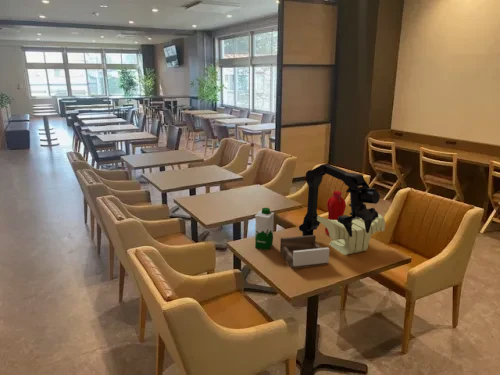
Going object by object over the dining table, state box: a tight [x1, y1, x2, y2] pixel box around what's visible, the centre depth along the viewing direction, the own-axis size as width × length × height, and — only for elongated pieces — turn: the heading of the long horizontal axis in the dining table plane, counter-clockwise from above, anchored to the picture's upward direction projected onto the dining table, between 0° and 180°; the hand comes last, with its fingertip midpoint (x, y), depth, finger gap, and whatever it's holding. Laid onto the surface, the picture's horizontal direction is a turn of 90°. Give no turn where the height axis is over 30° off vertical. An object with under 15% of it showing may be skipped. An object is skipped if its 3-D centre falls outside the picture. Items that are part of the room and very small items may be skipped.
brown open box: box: [279, 234, 329, 269], centre depth 183 cm, size 17×18×8 cm
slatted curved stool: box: [317, 213, 386, 256], centre depth 193 cm, size 30×16×18 cm, turn 113°
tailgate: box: [293, 247, 330, 266], centre depth 174 cm, size 2×17×7 cm, turn 103°
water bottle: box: [324, 190, 347, 237], centre depth 209 cm, size 9×11×25 cm
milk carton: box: [254, 207, 275, 251], centre depth 194 cm, size 9×9×20 cm
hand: (359, 234), depth 176 cm, fingers open, 9 cm apart
